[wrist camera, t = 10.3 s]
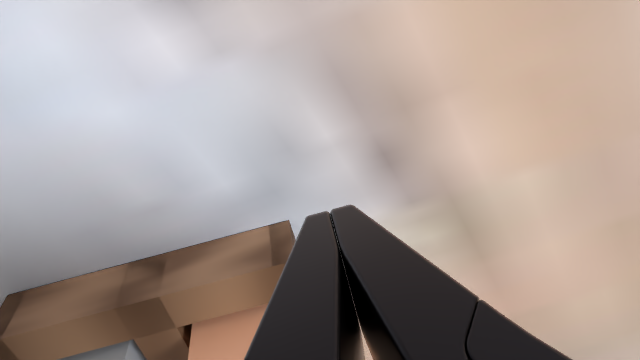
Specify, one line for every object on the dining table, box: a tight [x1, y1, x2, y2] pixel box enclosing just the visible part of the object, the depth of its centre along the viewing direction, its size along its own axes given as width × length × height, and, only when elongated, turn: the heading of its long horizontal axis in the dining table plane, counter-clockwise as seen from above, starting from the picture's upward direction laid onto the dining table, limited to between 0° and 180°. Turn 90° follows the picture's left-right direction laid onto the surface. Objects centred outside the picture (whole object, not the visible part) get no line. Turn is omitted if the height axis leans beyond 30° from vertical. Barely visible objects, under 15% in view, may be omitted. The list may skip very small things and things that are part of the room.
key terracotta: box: [188, 304, 268, 360], centre depth 22 cm, size 4×4×4 cm
